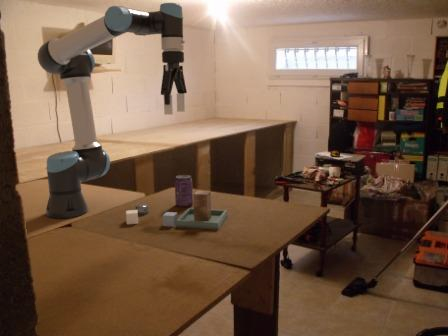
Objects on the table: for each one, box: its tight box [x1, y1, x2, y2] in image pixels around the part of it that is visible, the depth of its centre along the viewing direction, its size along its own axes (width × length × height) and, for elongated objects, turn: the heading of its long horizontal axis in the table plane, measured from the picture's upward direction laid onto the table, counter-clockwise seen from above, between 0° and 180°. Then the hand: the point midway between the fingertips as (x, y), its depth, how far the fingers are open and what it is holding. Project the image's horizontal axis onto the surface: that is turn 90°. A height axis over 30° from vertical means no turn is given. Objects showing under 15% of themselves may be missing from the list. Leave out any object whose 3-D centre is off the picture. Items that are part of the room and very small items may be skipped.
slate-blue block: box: [162, 211, 179, 227], centre depth 153 cm, size 4×4×4 cm
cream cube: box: [125, 209, 139, 225], centre depth 157 cm, size 4×4×4 cm
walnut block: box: [193, 190, 212, 221], centre depth 155 cm, size 5×5×10 cm
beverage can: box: [174, 174, 194, 208], centre depth 176 cm, size 7×7×12 cm
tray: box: [175, 207, 228, 231], centre depth 156 cm, size 15×15×2 cm
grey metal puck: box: [134, 203, 150, 216], centre depth 167 cm, size 5×5×3 cm
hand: (175, 113), depth 154 cm, fingers open, 13 cm apart
